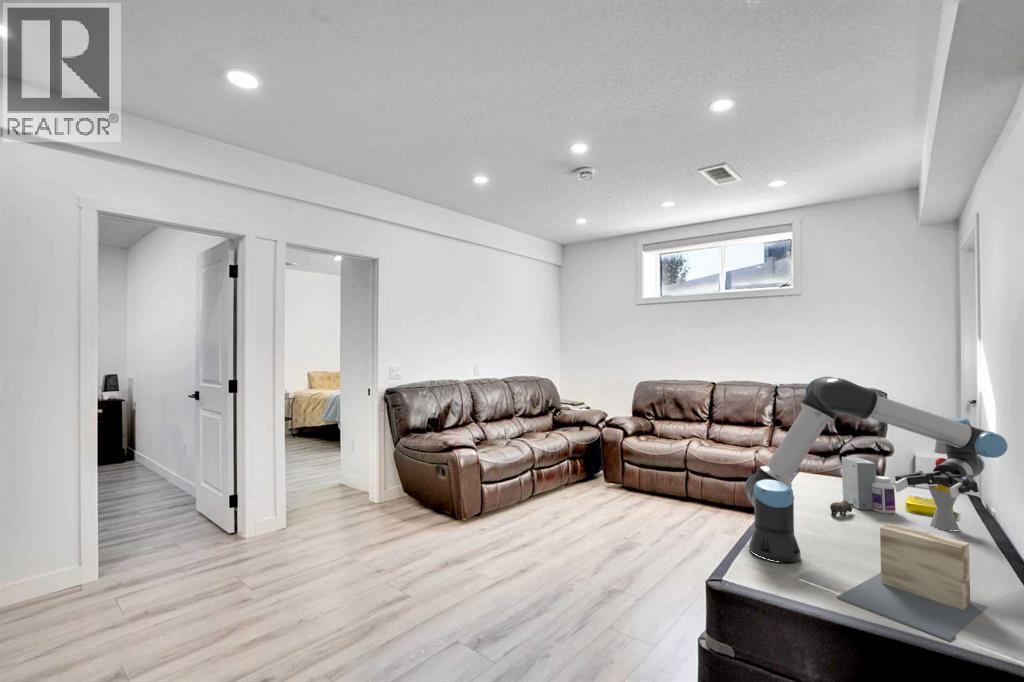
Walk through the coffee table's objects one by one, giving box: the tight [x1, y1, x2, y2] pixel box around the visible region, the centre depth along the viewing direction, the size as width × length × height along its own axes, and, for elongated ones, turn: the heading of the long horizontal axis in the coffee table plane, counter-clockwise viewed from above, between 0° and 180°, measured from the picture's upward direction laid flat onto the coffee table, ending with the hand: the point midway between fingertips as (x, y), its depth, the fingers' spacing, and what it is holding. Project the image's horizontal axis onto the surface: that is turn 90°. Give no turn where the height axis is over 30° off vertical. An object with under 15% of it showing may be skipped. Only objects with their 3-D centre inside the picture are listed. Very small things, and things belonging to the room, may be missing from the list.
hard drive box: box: [841, 456, 878, 511], centre depth 216 cm, size 16×8×20 cm, turn 168°
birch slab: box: [879, 523, 971, 610], centre depth 136 cm, size 6×18×16 cm, turn 32°
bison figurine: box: [829, 500, 854, 519], centre depth 202 cm, size 4×14×6 cm, turn 113°
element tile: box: [904, 494, 954, 517], centre depth 208 cm, size 15×15×5 cm
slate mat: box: [836, 572, 989, 642], centre depth 131 cm, size 28×24×1 cm
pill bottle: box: [872, 475, 896, 515], centre depth 207 cm, size 8×8×14 cm
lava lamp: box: [927, 440, 960, 531], centre depth 188 cm, size 9×9×35 cm
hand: (923, 490), depth 144 cm, fingers open, 13 cm apart
